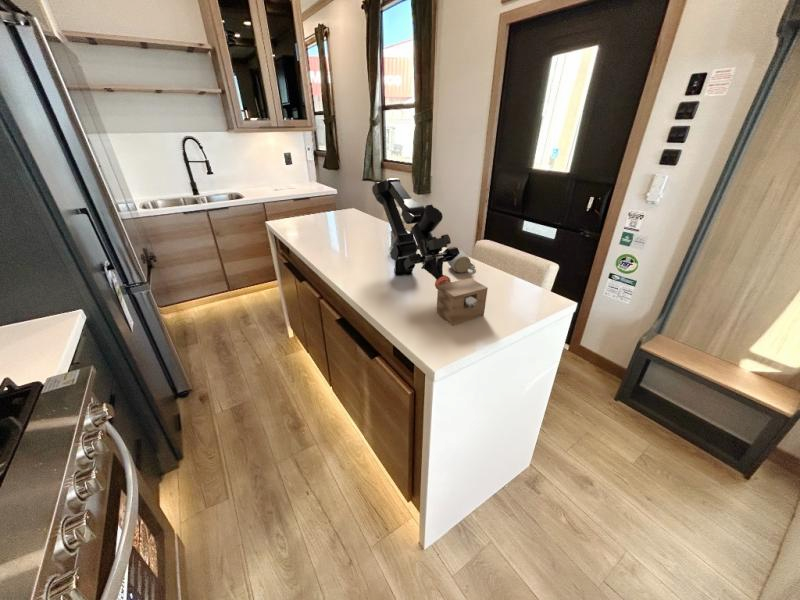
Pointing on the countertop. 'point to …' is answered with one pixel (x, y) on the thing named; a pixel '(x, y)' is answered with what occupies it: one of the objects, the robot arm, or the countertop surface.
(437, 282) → the steel pin
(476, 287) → the hitch block
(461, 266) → the ceramic mug
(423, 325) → the countertop surface
